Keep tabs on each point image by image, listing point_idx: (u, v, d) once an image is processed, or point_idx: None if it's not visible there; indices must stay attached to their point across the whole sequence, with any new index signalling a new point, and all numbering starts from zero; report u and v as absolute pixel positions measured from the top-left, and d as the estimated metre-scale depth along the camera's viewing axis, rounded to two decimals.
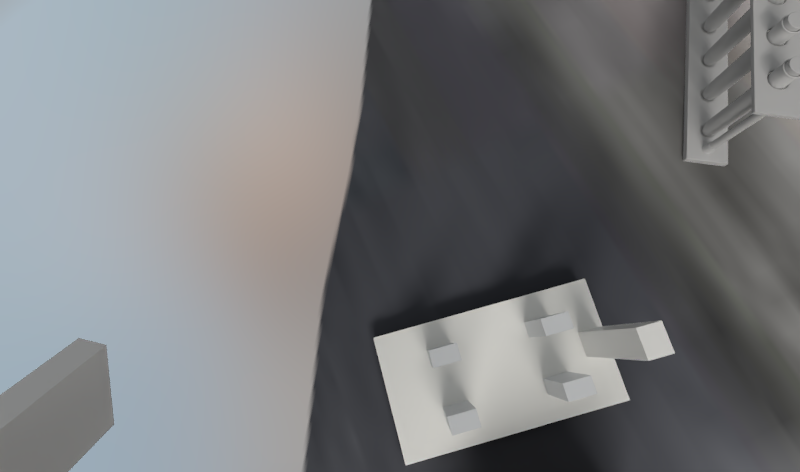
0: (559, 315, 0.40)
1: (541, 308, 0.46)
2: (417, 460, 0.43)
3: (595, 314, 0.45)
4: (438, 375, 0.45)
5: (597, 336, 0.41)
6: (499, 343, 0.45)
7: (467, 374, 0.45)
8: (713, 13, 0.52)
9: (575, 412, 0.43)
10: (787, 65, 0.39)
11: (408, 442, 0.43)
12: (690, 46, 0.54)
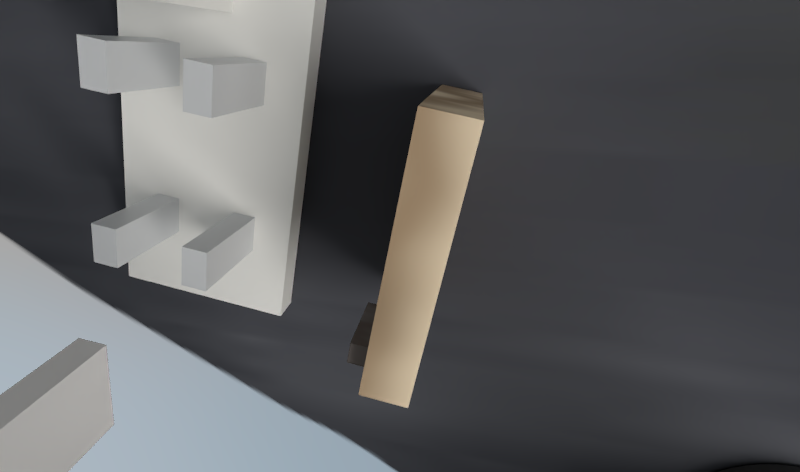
0: (81, 52, 0.23)
1: None
2: (280, 302, 0.33)
3: None
4: (193, 229, 0.32)
5: None
6: (176, 132, 0.30)
7: (203, 195, 0.31)
8: None
9: (301, 80, 0.27)
10: None
11: (257, 301, 0.34)
12: None
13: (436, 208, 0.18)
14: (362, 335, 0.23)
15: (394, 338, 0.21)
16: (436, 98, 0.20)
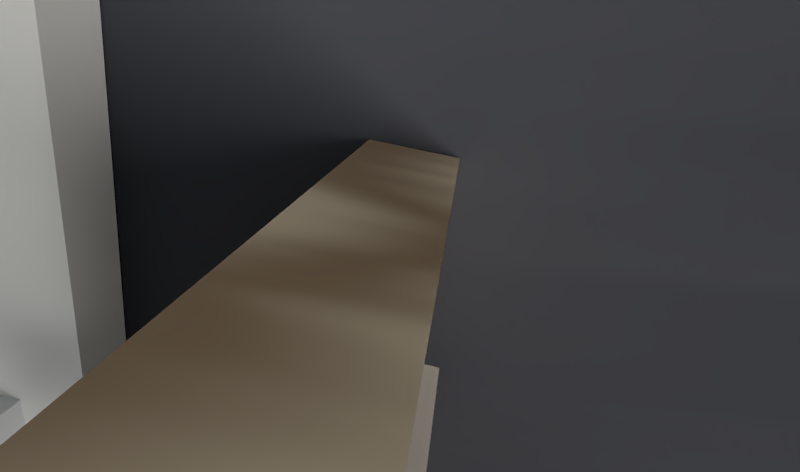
0: None
1: None
2: None
3: None
4: None
5: None
6: None
7: None
8: None
9: (42, 140, 0.12)
10: None
11: None
12: None
13: None
14: None
15: None
16: (237, 283, 0.05)
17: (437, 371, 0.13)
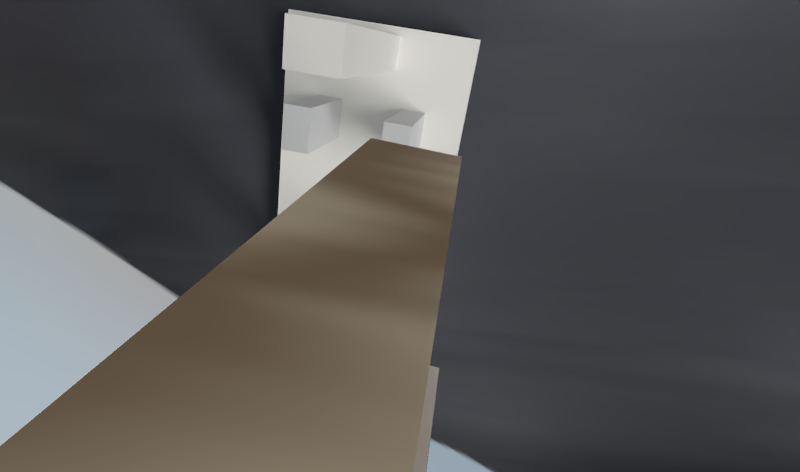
0: (286, 119, 0.25)
1: None
2: None
3: (344, 22, 0.28)
4: None
5: None
6: None
7: None
8: None
9: (457, 128, 0.29)
10: None
11: None
12: None
13: None
14: None
15: None
16: (241, 281, 0.05)
17: (437, 371, 0.13)
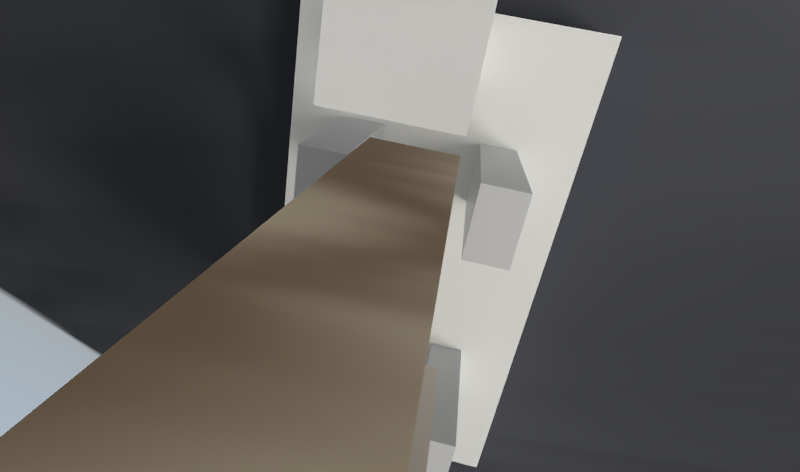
0: (300, 171, 0.14)
1: (328, 122, 0.19)
2: (479, 451, 0.25)
3: None
4: None
5: None
6: None
7: None
8: None
9: (567, 175, 0.19)
10: None
11: None
12: None
13: None
14: None
15: None
16: (237, 279, 0.05)
17: (437, 371, 0.13)
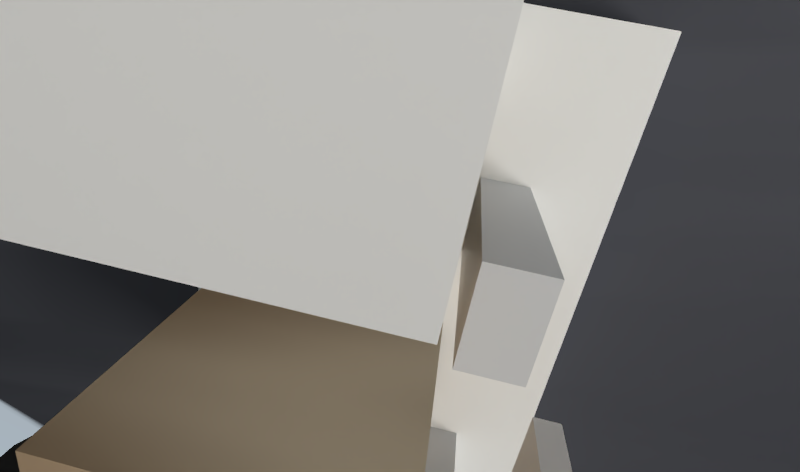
0: None
1: None
2: None
3: None
4: None
5: None
6: None
7: None
8: None
9: (598, 220, 0.14)
10: None
11: None
12: None
13: None
14: None
15: None
16: None
17: (561, 429, 0.12)
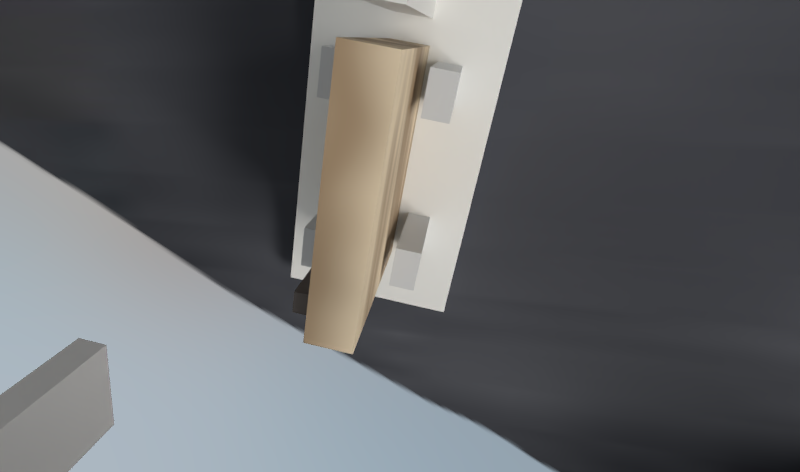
0: (323, 63, 0.23)
1: None
2: (445, 298, 0.34)
3: None
4: None
5: None
6: None
7: None
8: None
9: (496, 82, 0.28)
10: None
11: (421, 298, 0.35)
12: None
13: (362, 145, 0.18)
14: (307, 285, 0.24)
15: (333, 281, 0.21)
16: (367, 39, 0.20)
17: None
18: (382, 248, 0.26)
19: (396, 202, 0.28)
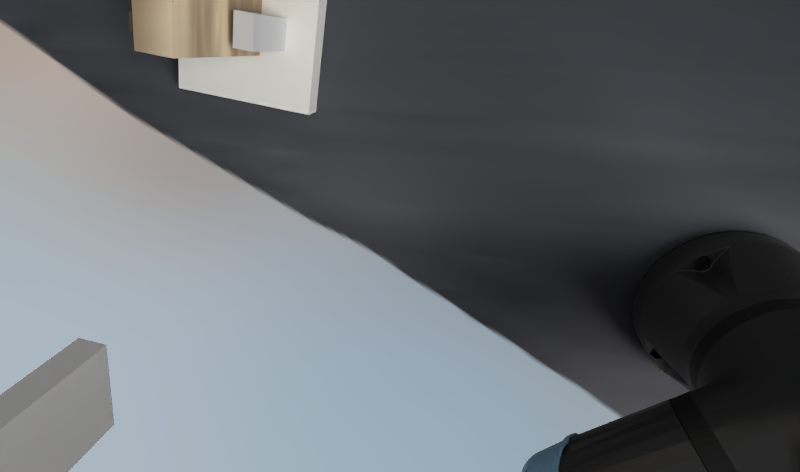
0: None
1: None
2: (308, 100, 0.40)
3: None
4: None
5: None
6: None
7: None
8: None
9: None
10: None
11: (288, 101, 0.40)
12: None
13: None
14: None
15: None
16: None
17: None
18: (218, 3, 0.31)
19: None
